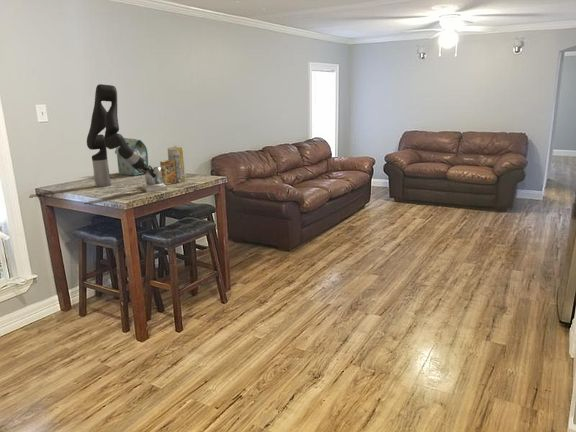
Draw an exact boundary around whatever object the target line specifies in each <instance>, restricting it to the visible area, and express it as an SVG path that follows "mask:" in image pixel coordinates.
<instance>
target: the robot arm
mask: <svg viewBox="0 0 576 432" xmlns="http://www.w3.org/2000/svg"><path fill="white" fill-rule="evenodd" d="M102 102H108V103H109V102H110V103H111V104H110V107H109V110H106V108H105V107H104V106H103V104H102ZM119 126H120V125H119V118H118V91H117V87H116V86H115V85H112V84H102V83H101V84H97V86H96V88H95V94H94V105H93V109H92V114H91V120H90V127H89V130H88V135H87V136H86V146H87V148H88V149H89V150H98V152H97V153H94V154H93V155H92V156H91V160H92V169H93V177H94V183H95V188H98V187H99V188H102V187H110V186H111V185H112V184H111V175H110V169H109V161H108V151H107V149H108V150H114V149H116V147H119V146H120V148H119V149H118V153H119V154H120V155H121V156H122V157H123V158H124V159H125V160H126V161H127V162H128V163H129V164H130V165H131V166H132V167H133V168H134V169H136V170H137V171H139V172H140V173H143V174H142V175H144V176H145V175H146V173H149V174H150V175H151V176H152V177H153V178H155V177H156V174H154V173H153V172H154V170H153V168H152V167H153V166H151V164H148V166H147V165H146V164H144V160H143V159H142V158H141V157H140V156H139V155H138V154H137V153H136V152H135V151H133V150H132V149H131V148H130V147H129V146H128V144H127V143H126V141H125V139H124V138H125V137H124V136H123V135H122V134H121V133H118V132H119V131H120V127H119ZM103 130H105V131H104V134H101V132H102V131H103ZM146 170H147V171H146Z"/></svg>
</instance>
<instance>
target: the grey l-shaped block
mask: <svg viewBox="0 0 576 432" xmlns="http://www.w3.org/2000/svg"><path fill="white" fill-rule="evenodd" d="M153 173H154V172H153ZM144 181H145V183H143V184H141V185H142V189H143V190H144V191H145V192H146V193H153V192H160V191H161V192H162V191H167V190H168V187H167V185H165V184H164V183H161V184H155V180H154V184H147V181H146V175H145V174H144Z"/></svg>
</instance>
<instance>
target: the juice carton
mask: <svg viewBox="0 0 576 432" xmlns="http://www.w3.org/2000/svg"><path fill="white" fill-rule="evenodd" d="M167 156H168V157H167V158H168V159H167V160H174V163H175V172H176V182H177V183H182V182H185V181H186V168H185V157H184V156H185V155H184V148H183V147H182V146H181V147H180V146H179V145H174V146H171V147H167Z"/></svg>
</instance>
